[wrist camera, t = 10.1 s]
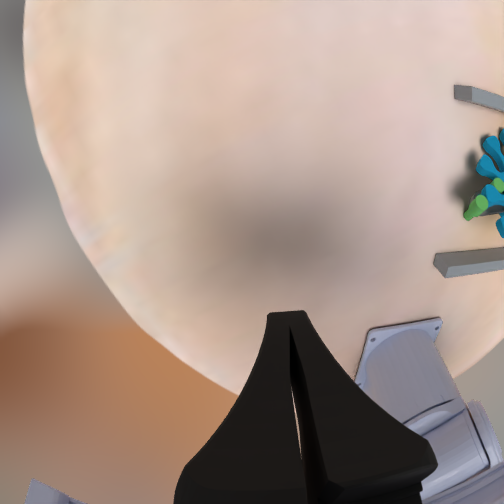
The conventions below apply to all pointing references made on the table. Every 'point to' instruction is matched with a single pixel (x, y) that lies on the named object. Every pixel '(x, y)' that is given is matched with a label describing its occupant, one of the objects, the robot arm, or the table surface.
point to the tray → (474, 259)
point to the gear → (498, 191)
